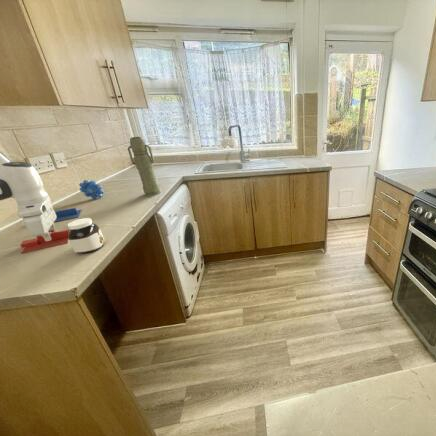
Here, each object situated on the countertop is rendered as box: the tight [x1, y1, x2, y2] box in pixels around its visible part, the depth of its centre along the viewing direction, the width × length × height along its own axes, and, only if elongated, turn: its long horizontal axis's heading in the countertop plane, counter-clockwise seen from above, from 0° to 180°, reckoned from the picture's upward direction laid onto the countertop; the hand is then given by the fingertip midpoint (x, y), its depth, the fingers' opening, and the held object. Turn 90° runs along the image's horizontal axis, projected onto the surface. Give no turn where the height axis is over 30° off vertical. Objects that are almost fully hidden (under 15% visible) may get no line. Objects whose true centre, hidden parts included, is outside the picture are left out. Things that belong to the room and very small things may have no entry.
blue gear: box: [78, 179, 105, 200], centre depth 147 cm, size 12×7×12 cm, turn 108°
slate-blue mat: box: [53, 209, 83, 223], centre depth 123 cm, size 16×12×1 cm
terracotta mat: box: [20, 238, 68, 255], centre depth 100 cm, size 16×12×1 cm
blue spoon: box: [54, 207, 78, 217], centre depth 122 cm, size 16×4×3 cm, turn 122°
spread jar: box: [67, 217, 105, 255], centre depth 91 cm, size 12×11×12 cm
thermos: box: [127, 136, 161, 197], centre depth 147 cm, size 9×12×35 cm
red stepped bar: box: [19, 228, 70, 249], centre depth 98 cm, size 16×4×3 cm, turn 122°
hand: (51, 236), depth 99 cm, fingers open, 6 cm apart
